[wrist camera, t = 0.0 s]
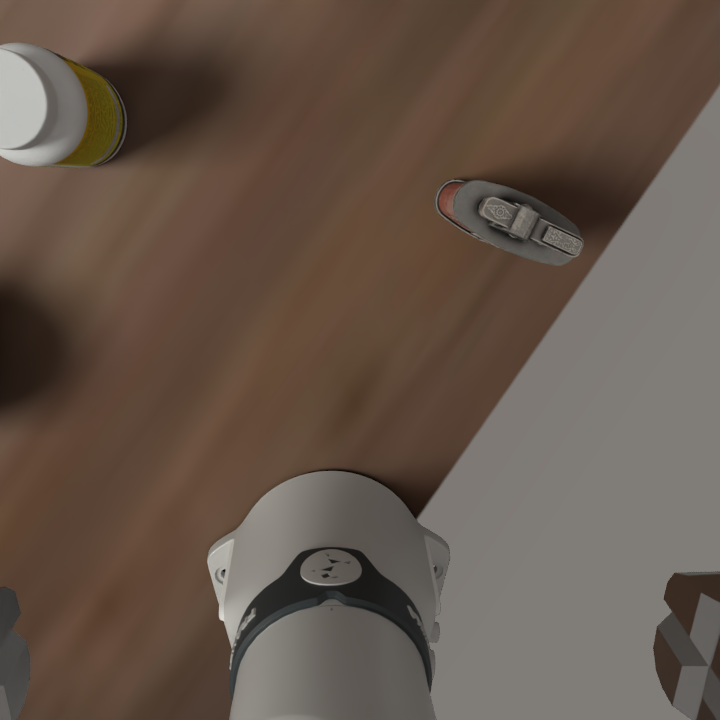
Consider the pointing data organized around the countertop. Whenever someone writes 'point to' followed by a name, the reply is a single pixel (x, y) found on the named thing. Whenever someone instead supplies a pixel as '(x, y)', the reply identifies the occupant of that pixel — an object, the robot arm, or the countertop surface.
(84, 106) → the pill bottle
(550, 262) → the lighter
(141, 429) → the countertop surface
